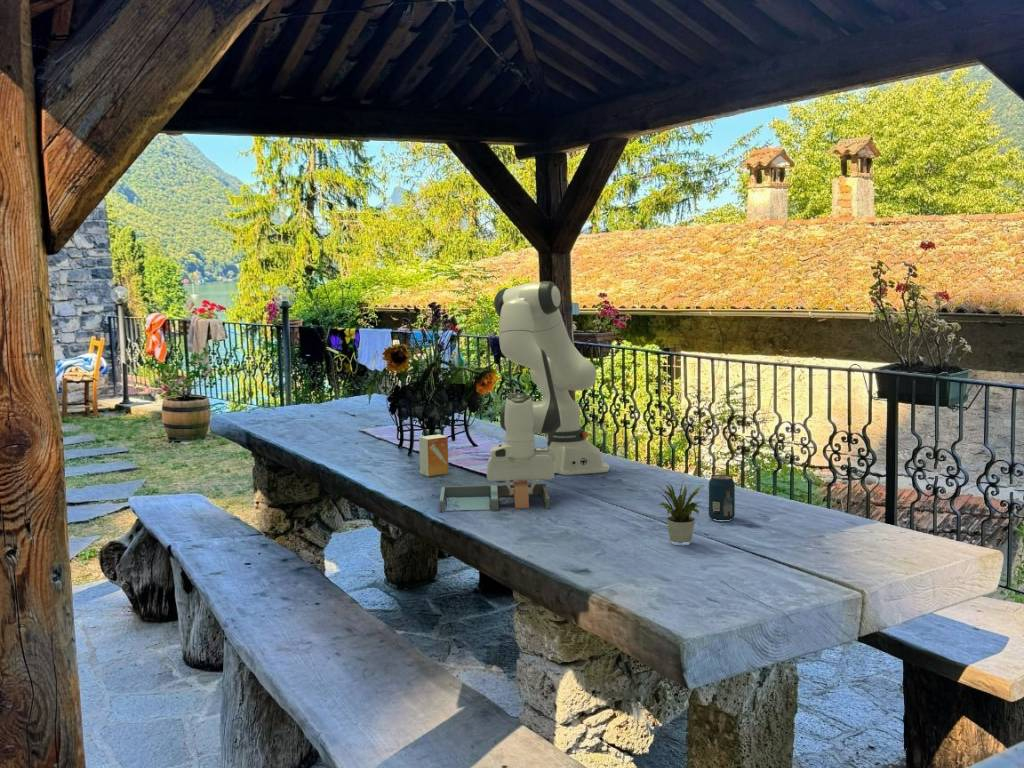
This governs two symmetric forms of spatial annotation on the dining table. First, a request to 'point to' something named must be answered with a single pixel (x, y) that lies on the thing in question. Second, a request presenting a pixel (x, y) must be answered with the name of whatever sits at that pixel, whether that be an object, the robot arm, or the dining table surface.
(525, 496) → the long orange rectangular block
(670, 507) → the house plant
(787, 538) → the dining table surface
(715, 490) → the soda can
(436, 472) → the small box
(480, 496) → the gate frame with panel
